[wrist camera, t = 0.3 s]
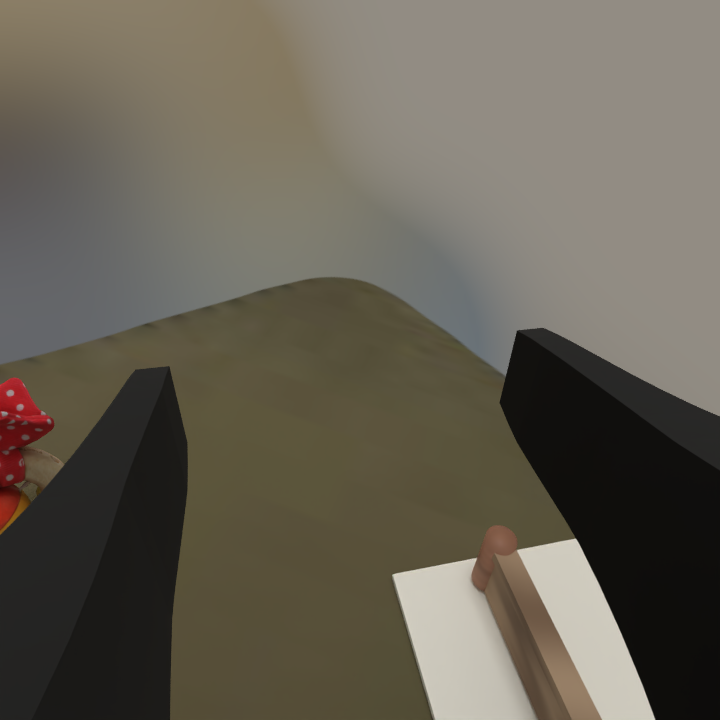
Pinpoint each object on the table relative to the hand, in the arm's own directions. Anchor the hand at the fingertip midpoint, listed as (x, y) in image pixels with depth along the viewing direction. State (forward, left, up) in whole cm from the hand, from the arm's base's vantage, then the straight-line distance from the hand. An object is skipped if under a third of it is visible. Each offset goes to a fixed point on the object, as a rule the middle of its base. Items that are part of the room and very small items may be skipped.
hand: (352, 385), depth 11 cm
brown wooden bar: (+1, -10, -20) cm, 22 cm away
